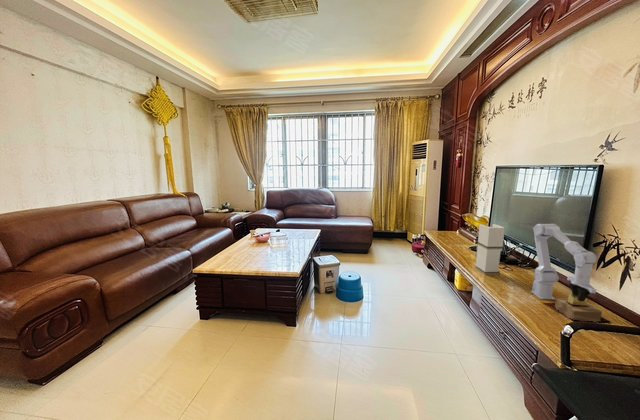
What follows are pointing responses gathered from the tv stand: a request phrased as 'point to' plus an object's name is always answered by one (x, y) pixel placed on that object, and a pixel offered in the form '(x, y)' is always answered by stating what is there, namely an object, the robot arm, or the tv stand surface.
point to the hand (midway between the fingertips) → (578, 299)
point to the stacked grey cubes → (489, 249)
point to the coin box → (578, 310)
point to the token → (576, 300)
